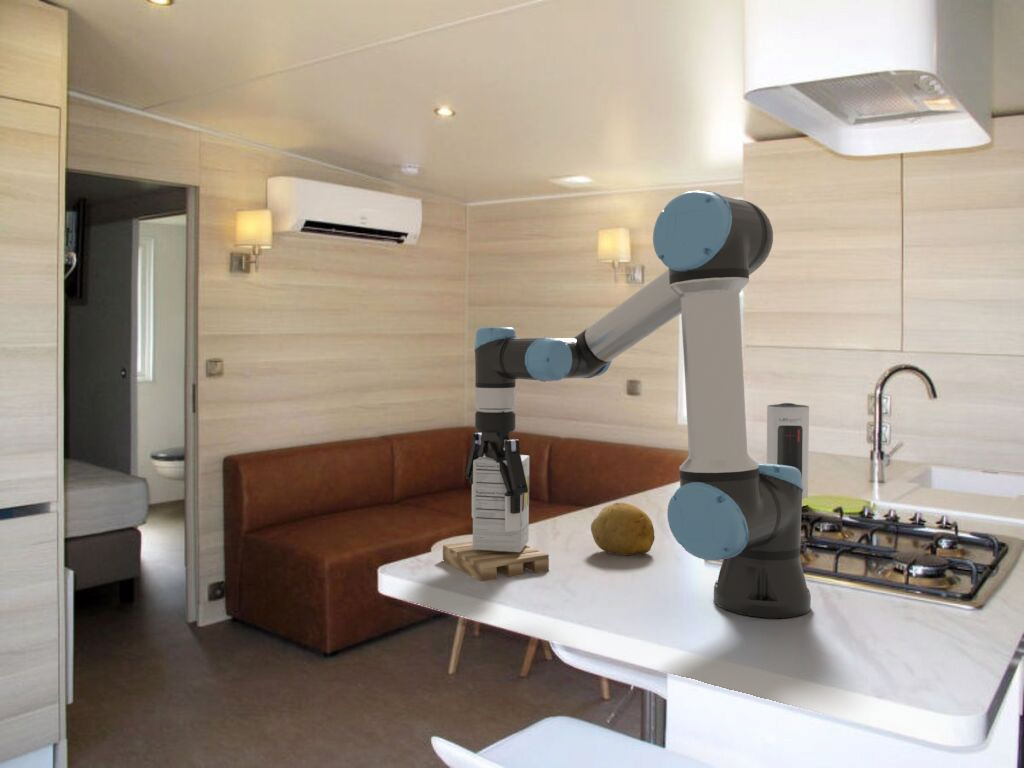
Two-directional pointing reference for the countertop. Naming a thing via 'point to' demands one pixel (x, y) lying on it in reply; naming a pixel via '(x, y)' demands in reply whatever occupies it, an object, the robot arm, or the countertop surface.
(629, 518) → the potato
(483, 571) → the wooden pallet
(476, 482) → the supplement box
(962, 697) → the countertop surface
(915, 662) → the countertop surface
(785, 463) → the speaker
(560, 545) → the countertop surface
